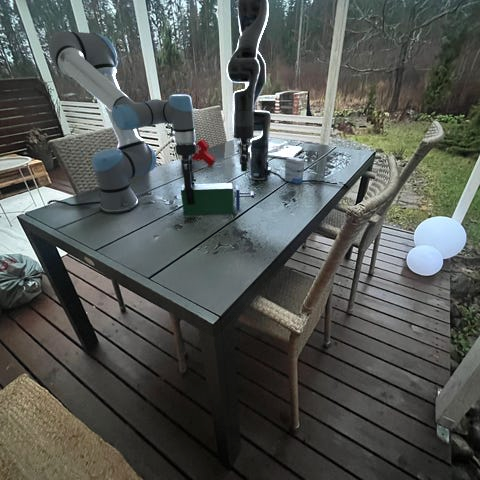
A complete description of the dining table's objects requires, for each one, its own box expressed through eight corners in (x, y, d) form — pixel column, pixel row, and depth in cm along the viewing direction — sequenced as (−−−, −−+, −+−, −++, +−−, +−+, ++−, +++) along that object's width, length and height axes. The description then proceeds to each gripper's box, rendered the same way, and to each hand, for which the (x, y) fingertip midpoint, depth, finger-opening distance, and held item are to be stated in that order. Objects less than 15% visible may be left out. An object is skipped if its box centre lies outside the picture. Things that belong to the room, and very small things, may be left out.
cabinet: (232, 207, 118) (232, 182, 112) (233, 213, 113) (232, 188, 107) (185, 208, 117) (182, 184, 111) (183, 215, 112) (180, 190, 106)
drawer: (253, 205, 117) (253, 185, 112) (254, 210, 113) (254, 189, 108) (194, 207, 116) (191, 186, 111) (193, 212, 112) (190, 191, 107)
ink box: (302, 181, 142) (305, 159, 136) (297, 184, 139) (300, 161, 133) (289, 177, 147) (291, 156, 141) (284, 180, 144) (285, 158, 138)
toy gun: (219, 159, 165) (203, 138, 161) (216, 161, 162) (200, 139, 158) (199, 174, 175) (184, 155, 171) (196, 176, 172) (181, 156, 168)
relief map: (291, 159, 177) (291, 151, 174) (243, 153, 190) (243, 145, 187) (302, 149, 197) (303, 142, 194) (258, 144, 211) (258, 137, 208)
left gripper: (178, 137, 107) (185, 191, 119) (171, 149, 91) (179, 211, 103) (197, 136, 107) (202, 191, 120) (193, 149, 91) (199, 210, 104)
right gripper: (232, 120, 104) (233, 162, 113) (233, 127, 92) (234, 173, 101) (251, 120, 104) (251, 162, 113) (255, 127, 92) (254, 173, 101)
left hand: (191, 200), depth 112 cm, fingers closed on cabinet, 6 cm apart
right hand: (243, 167), depth 107 cm, fingers open, 8 cm apart
